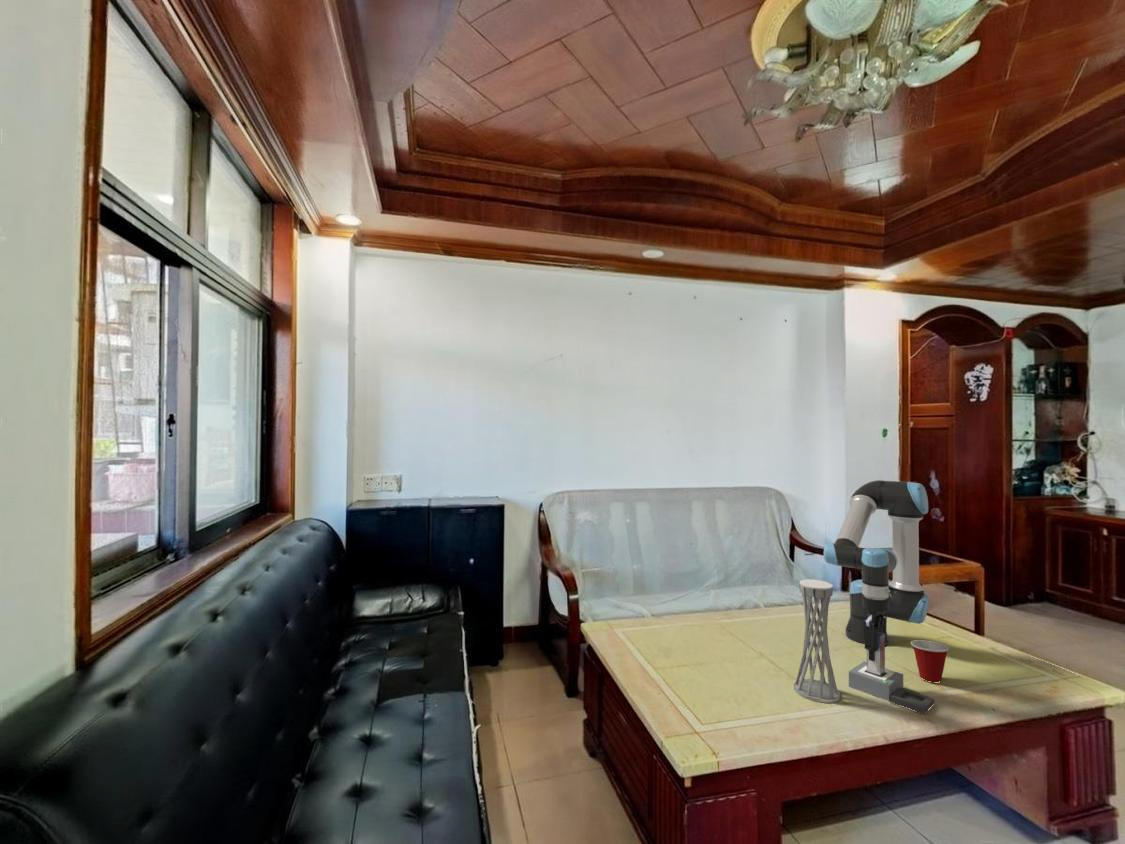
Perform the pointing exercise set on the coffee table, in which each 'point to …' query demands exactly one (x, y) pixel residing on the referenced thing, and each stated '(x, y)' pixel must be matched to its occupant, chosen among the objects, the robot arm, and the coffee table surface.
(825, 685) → the grey tall lattice tower
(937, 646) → the plastic cup
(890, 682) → the port
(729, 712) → the coffee table surface
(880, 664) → the plug
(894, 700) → the dark grey slot tray
